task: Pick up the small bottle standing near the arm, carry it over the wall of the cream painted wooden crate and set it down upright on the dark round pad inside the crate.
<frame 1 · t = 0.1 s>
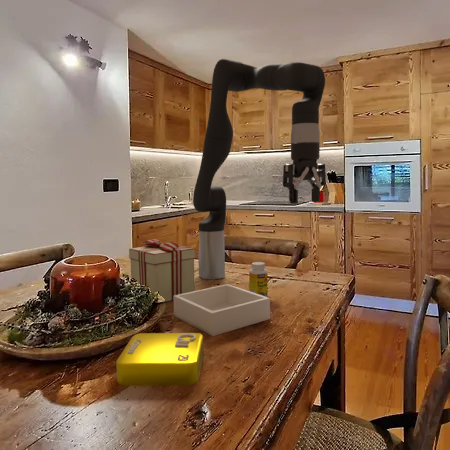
hand: (304, 202, 111), 29 cm above the table, tool pointing down, fingers open, 8 cm apart
supplement bottle: (258, 296, 125), on the table
gift box: (165, 294, 129), on the table
crate: (221, 317, 107), on the table
element tile: (163, 369, 80), on the table
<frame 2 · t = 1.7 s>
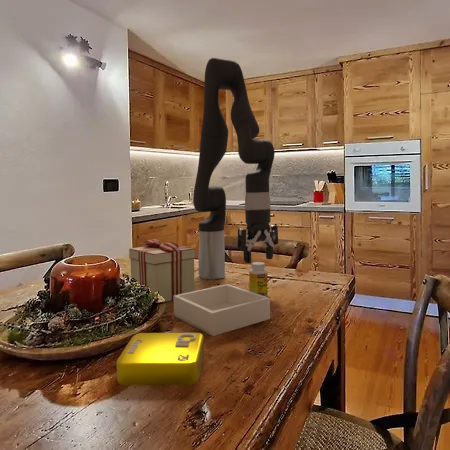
hand: (258, 261, 123), 11 cm above the table, tool pointing down, fingers open, 8 cm apart
nothing on the table moved.
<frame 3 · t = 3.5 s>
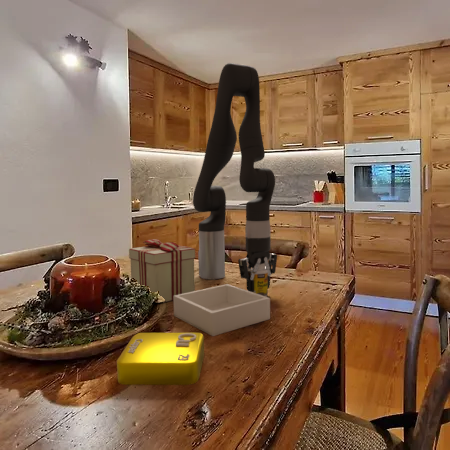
hand: (258, 289, 125), 2 cm above the table, tool pointing down, fingers closed on supplement bottle, 5 cm apart
supplement bottle: (258, 296, 125), on the table, touching gripper
everything else where it was.
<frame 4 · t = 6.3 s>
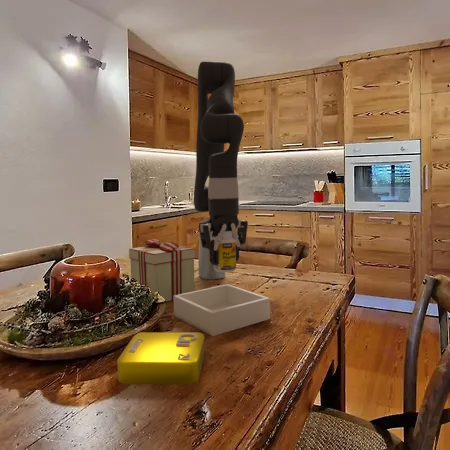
hand: (224, 262, 103), 15 cm above the table, tool pointing down, fingers closed on supplement bottle, 5 cm apart
supplement bottle: (225, 271, 104), point 13 cm above the table, touching gripper
everything else where it was.
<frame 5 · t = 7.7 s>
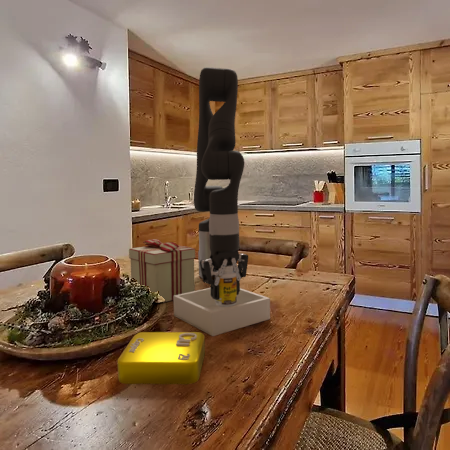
hand: (225, 296, 104), 6 cm above the table, tool pointing down, fingers closed on supplement bottle, 5 cm apart
supplement bottle: (226, 305, 105), point 4 cm above the table, touching gripper
everything else where it was.
when the fingers open (3 cm above the table, at t = 9.2 s): supplement bottle stays where it is, resting on crate.
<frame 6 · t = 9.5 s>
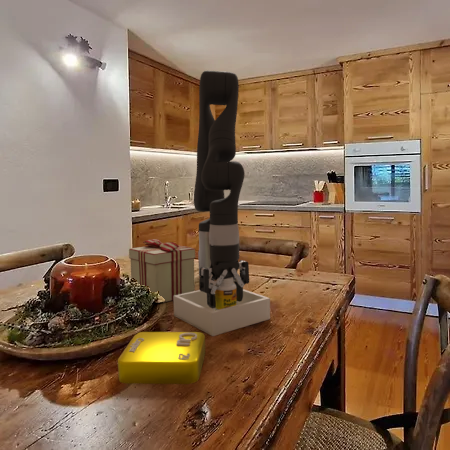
hand: (225, 304, 105), 4 cm above the table, tool pointing down, fingers open, 8 cm apart
supplement bottle: (226, 316, 105), point 1 cm above the table, touching crate
everything else where it was.
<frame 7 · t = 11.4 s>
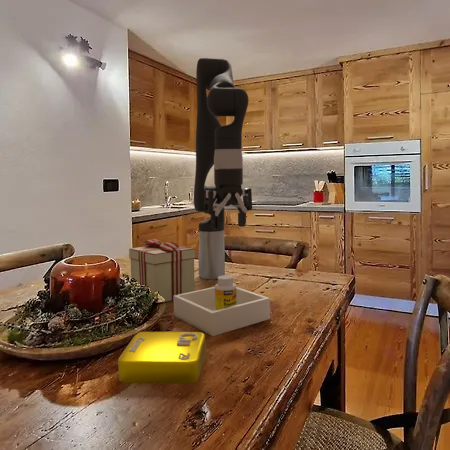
hand: (228, 228, 109), 23 cm above the table, tool pointing down, fingers open, 8 cm apart
nothing on the table moved.
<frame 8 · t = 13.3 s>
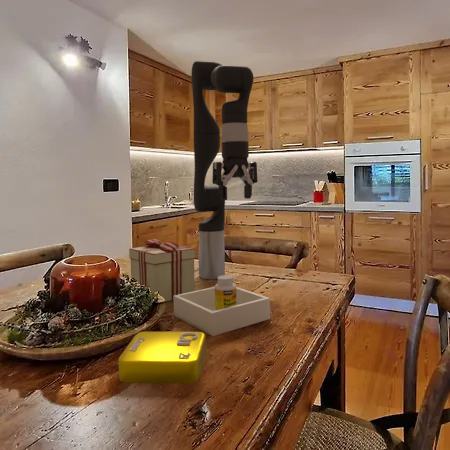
hand: (235, 199, 115), 30 cm above the table, tool pointing down, fingers open, 8 cm apart
nothing on the table moved.
at the end: supplement bottle inside the target area on the crate (0.1 cm from its centre), point 0.7 cm above the crate's base; supplement bottle tilted 0°; the gripper is holding nothing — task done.
